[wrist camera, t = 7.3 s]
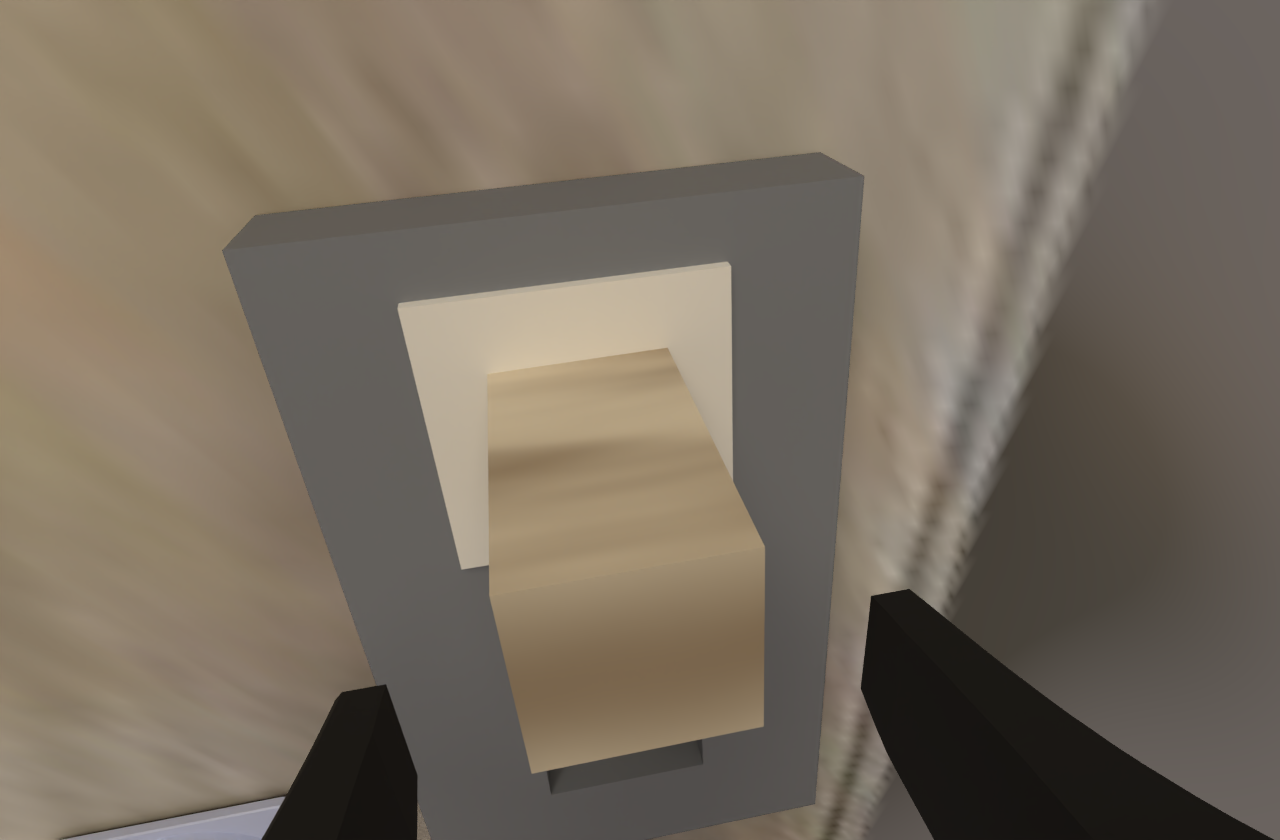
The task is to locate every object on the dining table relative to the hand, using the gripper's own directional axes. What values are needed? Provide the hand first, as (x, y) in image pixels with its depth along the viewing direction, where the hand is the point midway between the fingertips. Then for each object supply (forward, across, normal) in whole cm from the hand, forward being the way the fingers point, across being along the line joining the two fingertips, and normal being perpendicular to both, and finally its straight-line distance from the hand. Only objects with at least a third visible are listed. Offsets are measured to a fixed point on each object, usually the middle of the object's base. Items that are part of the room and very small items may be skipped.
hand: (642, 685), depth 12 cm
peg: (+8, 0, 0) cm, 8 cm away
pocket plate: (+10, 0, +6) cm, 12 cm away
